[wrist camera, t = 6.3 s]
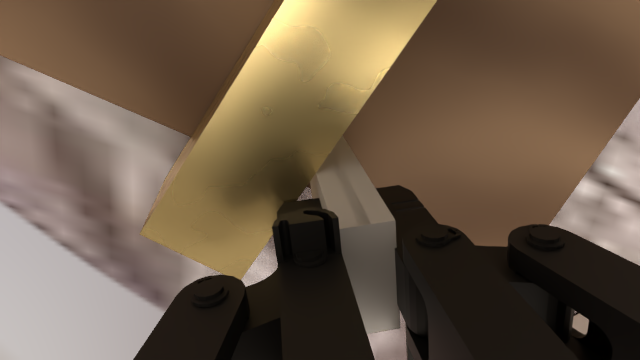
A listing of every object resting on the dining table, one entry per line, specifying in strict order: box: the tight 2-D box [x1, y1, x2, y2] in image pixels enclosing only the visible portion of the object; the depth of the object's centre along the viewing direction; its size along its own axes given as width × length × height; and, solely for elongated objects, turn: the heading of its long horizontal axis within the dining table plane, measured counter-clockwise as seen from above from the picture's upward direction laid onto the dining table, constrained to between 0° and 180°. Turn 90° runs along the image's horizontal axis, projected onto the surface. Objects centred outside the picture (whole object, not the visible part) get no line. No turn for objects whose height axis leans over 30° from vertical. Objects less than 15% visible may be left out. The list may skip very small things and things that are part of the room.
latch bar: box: [140, 0, 437, 280], centre depth 13 cm, size 13×4×4 cm, turn 145°
